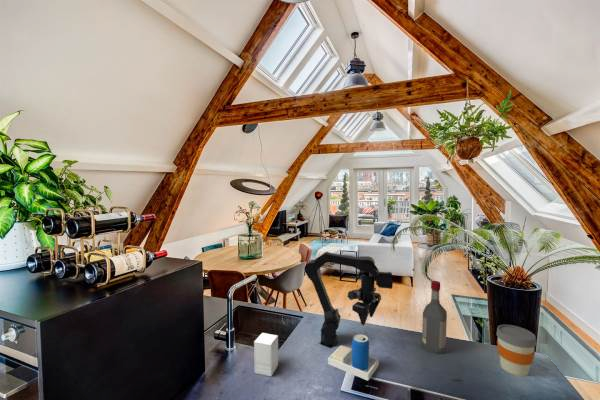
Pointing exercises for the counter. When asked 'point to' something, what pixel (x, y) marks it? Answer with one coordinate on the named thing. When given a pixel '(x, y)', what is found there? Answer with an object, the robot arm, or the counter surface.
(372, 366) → the white rectangular tray
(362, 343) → the beverage can
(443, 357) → the counter surface
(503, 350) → the reusable coffee cup
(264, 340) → the supplement box
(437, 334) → the liquor
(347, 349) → the beige rectangular block
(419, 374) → the counter surface
